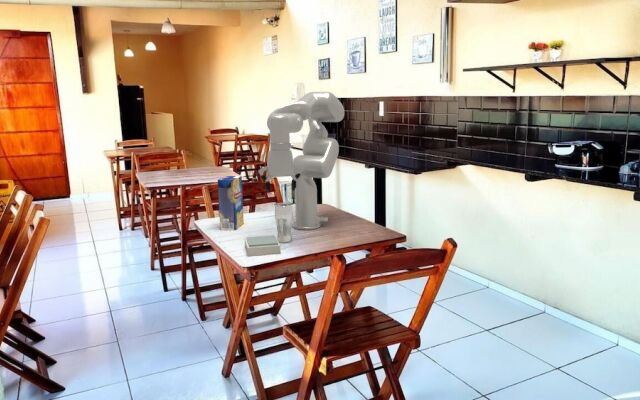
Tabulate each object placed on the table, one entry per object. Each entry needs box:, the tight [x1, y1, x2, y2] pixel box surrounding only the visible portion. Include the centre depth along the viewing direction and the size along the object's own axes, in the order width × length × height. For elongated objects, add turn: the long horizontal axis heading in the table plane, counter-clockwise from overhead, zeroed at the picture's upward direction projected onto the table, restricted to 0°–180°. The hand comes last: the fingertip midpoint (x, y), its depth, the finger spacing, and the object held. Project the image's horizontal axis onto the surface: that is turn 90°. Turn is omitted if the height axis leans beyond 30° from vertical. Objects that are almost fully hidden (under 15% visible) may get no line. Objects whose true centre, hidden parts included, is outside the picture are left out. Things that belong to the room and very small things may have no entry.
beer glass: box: [274, 202, 294, 244], centre depth 209 cm, size 7×7×15 cm
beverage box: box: [217, 175, 245, 231], centre depth 231 cm, size 7×11×22 cm, turn 168°
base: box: [244, 234, 282, 257], centre depth 198 cm, size 12×12×4 cm
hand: (281, 190), depth 206 cm, fingers open, 9 cm apart
